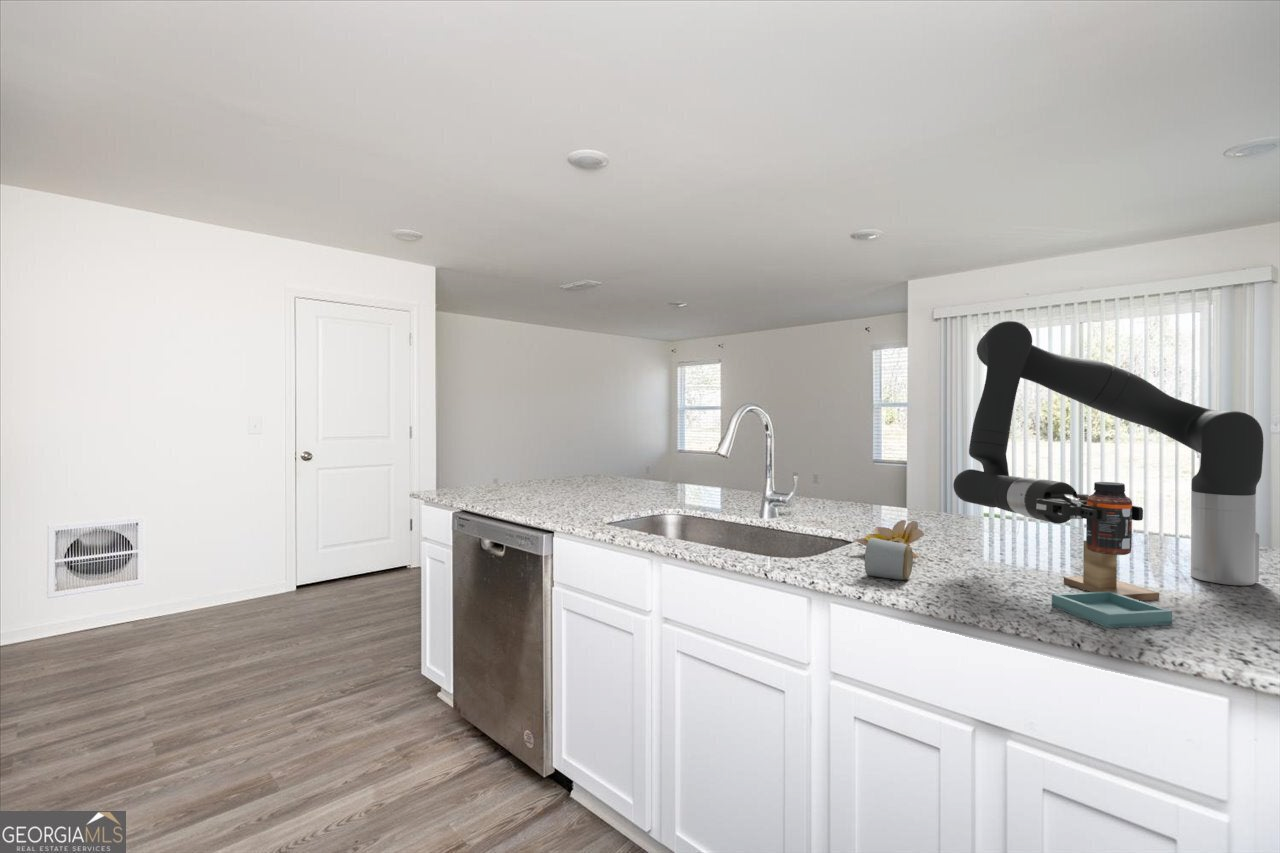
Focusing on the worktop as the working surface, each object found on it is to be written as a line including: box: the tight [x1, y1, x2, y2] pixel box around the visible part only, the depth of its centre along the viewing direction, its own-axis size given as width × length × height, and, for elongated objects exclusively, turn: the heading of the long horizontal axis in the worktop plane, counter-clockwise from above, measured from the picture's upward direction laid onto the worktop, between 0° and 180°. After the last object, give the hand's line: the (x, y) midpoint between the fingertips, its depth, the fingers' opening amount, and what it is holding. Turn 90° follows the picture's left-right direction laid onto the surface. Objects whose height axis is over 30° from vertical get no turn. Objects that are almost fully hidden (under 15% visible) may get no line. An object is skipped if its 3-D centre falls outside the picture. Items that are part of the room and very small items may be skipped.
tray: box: [1051, 591, 1173, 629], centre depth 102 cm, size 11×11×2 cm
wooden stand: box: [1063, 539, 1160, 601], centre depth 115 cm, size 8×12×9 cm, turn 8°
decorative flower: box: [853, 519, 925, 559], centre depth 144 cm, size 15×11×10 cm
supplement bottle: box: [1085, 481, 1133, 556], centre depth 101 cm, size 6×6×11 cm
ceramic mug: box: [864, 538, 914, 581], centre depth 127 cm, size 11×8×8 cm
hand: (1122, 514), depth 99 cm, fingers closed on supplement bottle, 6 cm apart
